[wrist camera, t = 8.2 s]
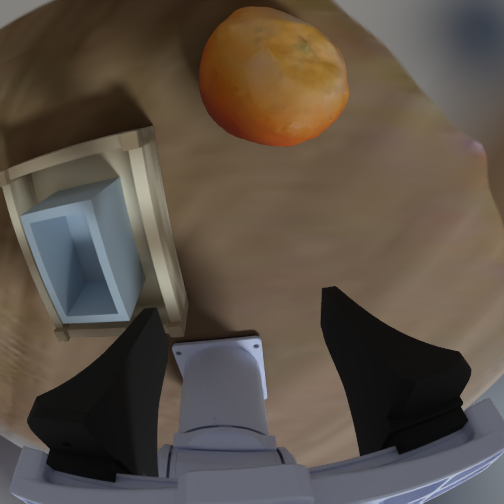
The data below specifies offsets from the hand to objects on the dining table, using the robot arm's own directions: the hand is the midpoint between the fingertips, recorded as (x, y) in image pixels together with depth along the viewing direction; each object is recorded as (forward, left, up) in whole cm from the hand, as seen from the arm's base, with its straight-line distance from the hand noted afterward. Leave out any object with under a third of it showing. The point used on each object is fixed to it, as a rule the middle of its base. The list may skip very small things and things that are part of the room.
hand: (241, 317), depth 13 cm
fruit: (+10, -3, -10) cm, 15 cm away
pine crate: (+1, +10, -10) cm, 14 cm away
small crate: (+1, +10, -9) cm, 14 cm away
